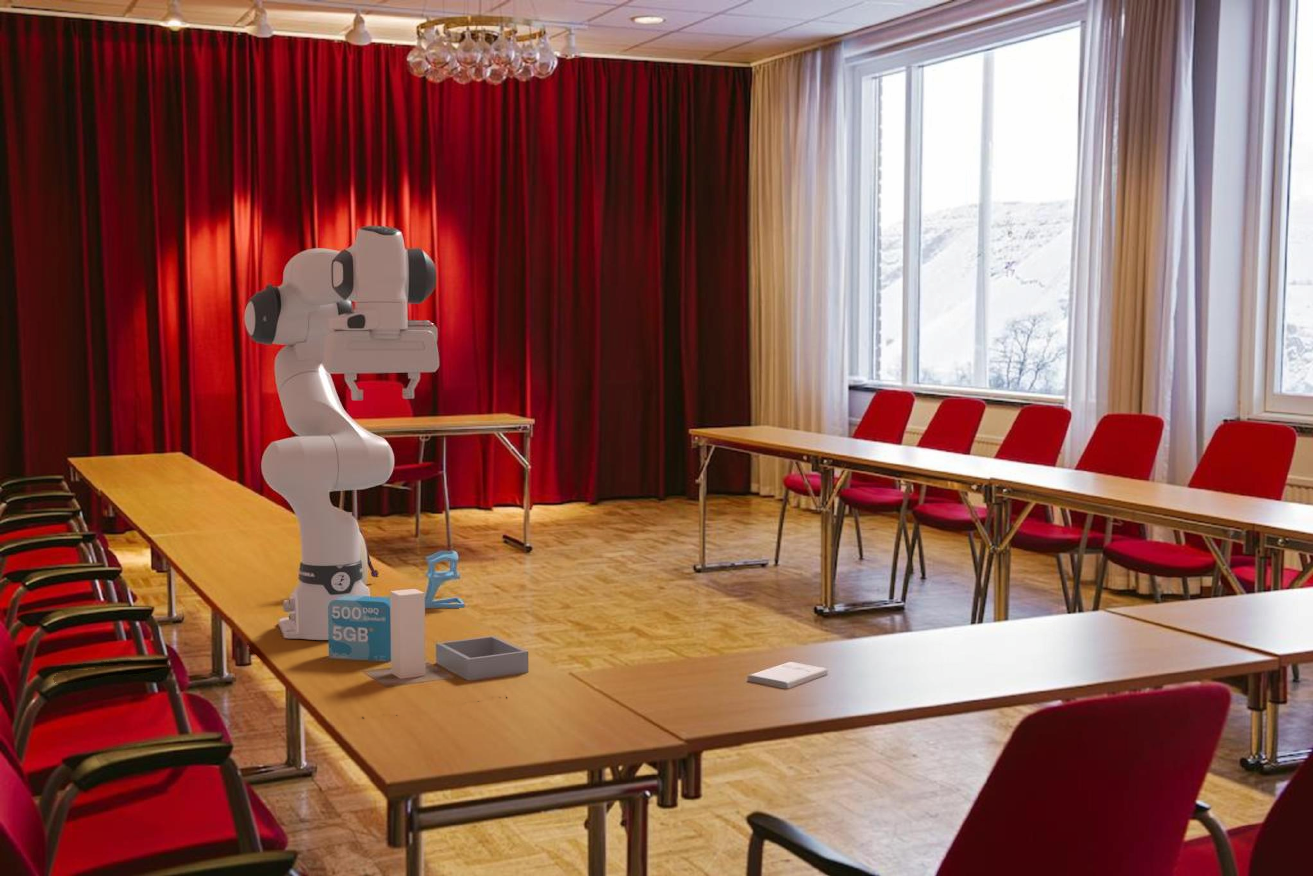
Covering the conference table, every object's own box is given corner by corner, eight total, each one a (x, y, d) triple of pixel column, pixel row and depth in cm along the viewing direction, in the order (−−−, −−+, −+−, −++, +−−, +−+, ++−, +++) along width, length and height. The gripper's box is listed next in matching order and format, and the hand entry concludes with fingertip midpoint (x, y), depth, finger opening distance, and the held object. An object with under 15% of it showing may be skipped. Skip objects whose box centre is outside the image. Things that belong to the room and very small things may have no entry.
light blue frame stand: (421, 604, 295) (420, 549, 294) (459, 601, 298) (458, 547, 297) (426, 610, 288) (424, 555, 287) (465, 608, 290) (464, 552, 289)
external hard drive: (747, 683, 230) (788, 669, 239) (787, 692, 224) (827, 677, 234) (747, 674, 229) (788, 660, 239) (787, 682, 224) (827, 667, 234)
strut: (391, 673, 229) (390, 591, 227) (416, 669, 231) (414, 588, 230) (400, 678, 225) (399, 595, 224) (425, 675, 227) (424, 592, 226)
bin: (436, 671, 236) (436, 643, 235) (494, 663, 241) (493, 635, 241) (468, 689, 224) (468, 659, 223) (528, 680, 230) (528, 651, 229)
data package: (328, 666, 240) (327, 599, 239) (339, 660, 244) (338, 594, 243) (391, 670, 237) (390, 602, 236) (401, 664, 241) (400, 597, 240)
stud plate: (362, 679, 230) (361, 656, 230) (428, 670, 236) (428, 648, 236) (386, 696, 220) (386, 671, 219) (455, 686, 226) (455, 662, 226)
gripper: (429, 320, 243) (430, 397, 244) (319, 319, 232) (320, 400, 233) (444, 319, 238) (445, 398, 239) (332, 319, 227) (333, 401, 228)
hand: (383, 399), depth 236 cm, fingers open, 8 cm apart
